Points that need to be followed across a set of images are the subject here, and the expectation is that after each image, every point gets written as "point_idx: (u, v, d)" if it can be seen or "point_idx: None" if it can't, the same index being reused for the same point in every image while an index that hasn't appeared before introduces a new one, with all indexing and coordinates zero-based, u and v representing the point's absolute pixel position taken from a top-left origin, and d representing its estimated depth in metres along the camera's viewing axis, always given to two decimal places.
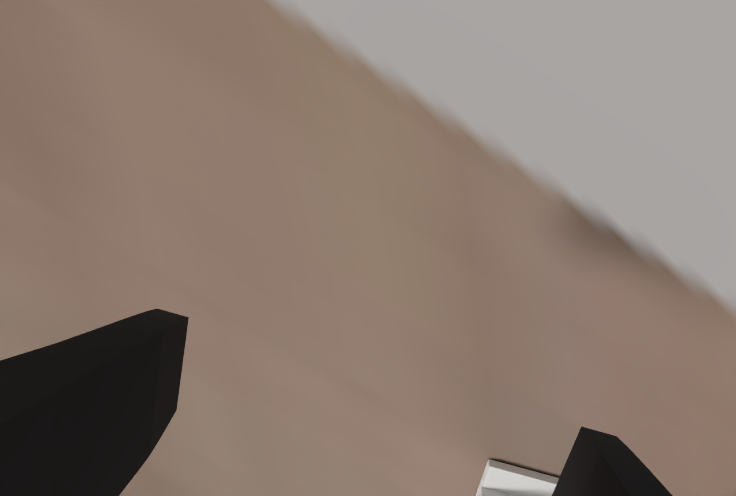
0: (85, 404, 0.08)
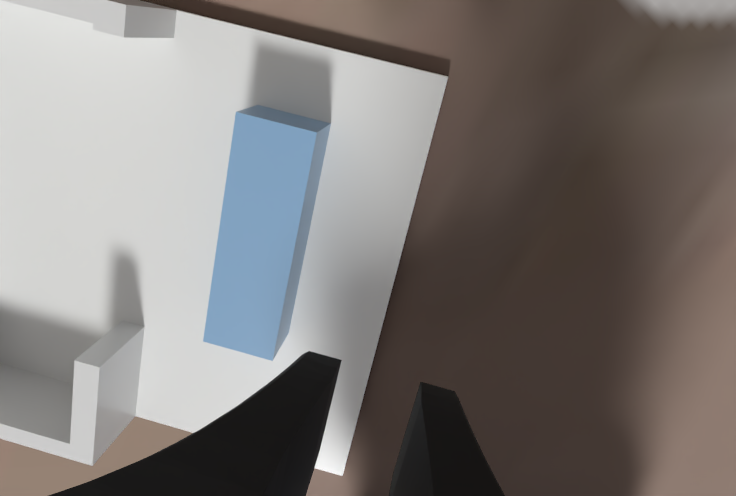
0: (289, 463, 0.08)
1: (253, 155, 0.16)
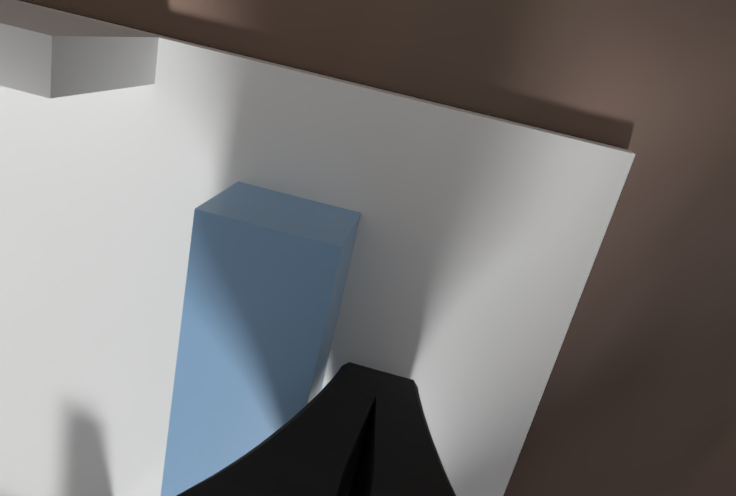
0: (343, 479, 0.08)
1: (227, 282, 0.09)
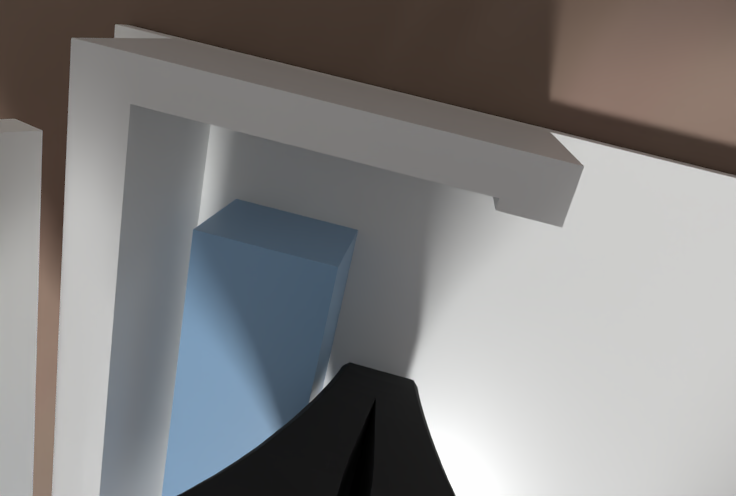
0: (344, 479, 0.08)
1: (226, 301, 0.09)
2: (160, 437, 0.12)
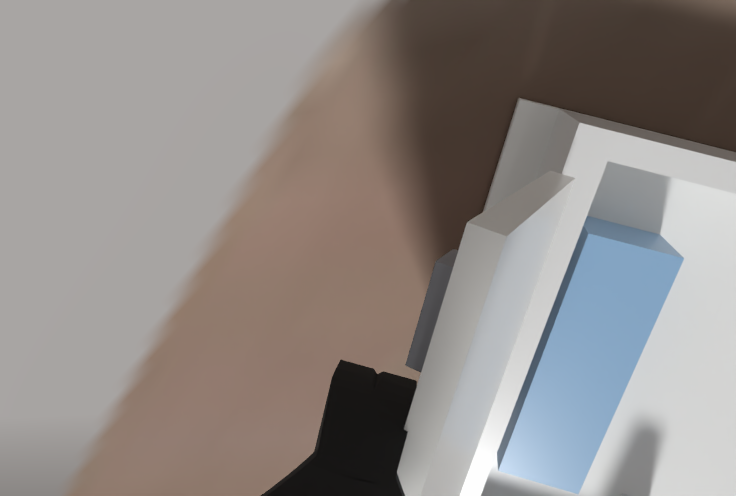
0: None
1: (600, 280, 0.14)
2: None
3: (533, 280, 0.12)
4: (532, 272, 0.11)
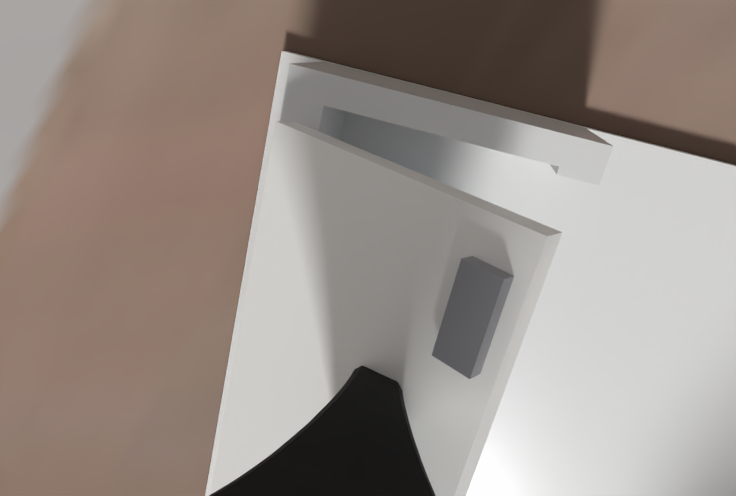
0: None
1: None
2: None
3: None
4: None
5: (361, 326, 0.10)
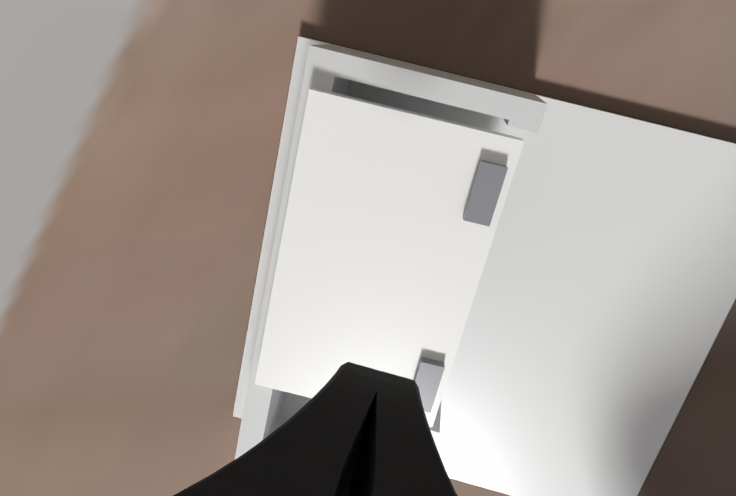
0: (342, 479, 0.08)
1: None
2: None
3: None
4: None
5: (400, 217, 0.16)
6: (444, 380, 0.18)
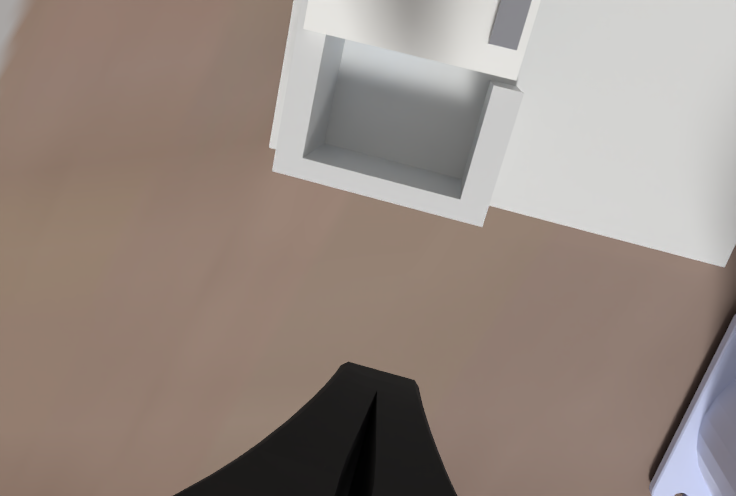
0: (342, 479, 0.08)
1: None
2: None
3: None
4: None
5: None
6: (534, 9, 0.15)
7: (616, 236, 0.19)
